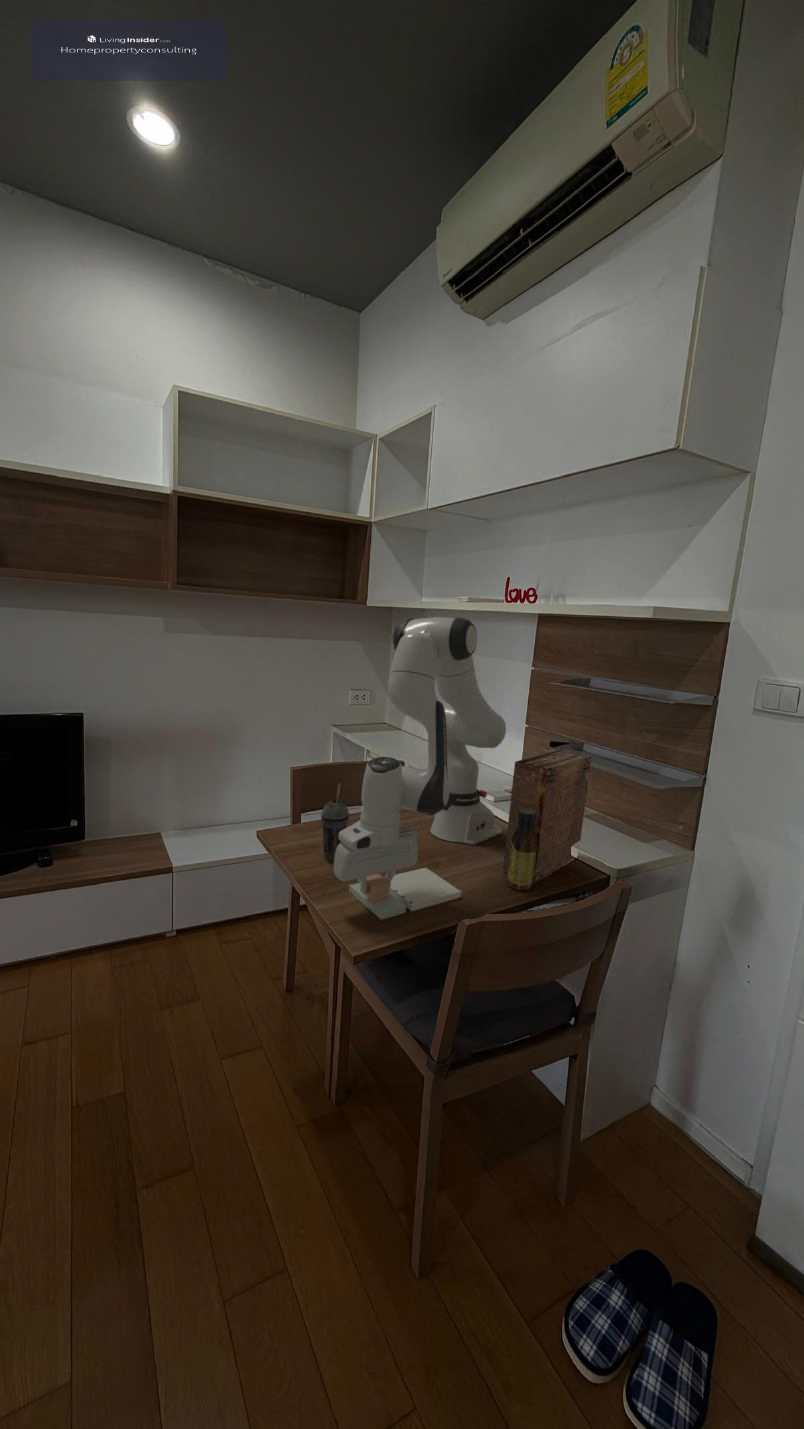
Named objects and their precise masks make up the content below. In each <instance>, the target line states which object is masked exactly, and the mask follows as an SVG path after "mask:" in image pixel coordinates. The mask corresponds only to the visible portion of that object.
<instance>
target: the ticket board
mask: <svg viewBox="0 0 804 1429" xmlns="http://www.w3.org/2000/svg"><path fill="white" fill-rule="evenodd" d="M389 893H390V894H391V895H393V896H394V897H395V898H396V899H398V900H399V901H400V902H401V903H402V904H404V905H405V906H406V909H409V910H410V911H411V912H414V911H418V910H421V909H424V908H428V907H431V906H435V905H439V904H442V903H445V902H449V901H452V900H457V899H460V898H461V897H462V891H461V890H460V889H458V888H456V887H455V886H454V885H453V884H451V883H449V882H448V881H447V880H445V879H444V878H441V877H440V876H439V875H438V874H436V873H435V872H434V871H432V870H430V869H429V868H427V867H422V868H417V869H414V870H410V871H405V872H401V873H397V874H395V875H394V877H393V879H392V880H391V885H390V887H389Z"/></svg>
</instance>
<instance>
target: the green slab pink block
mask: <svg viewBox="0 0 804 1429" xmlns="http://www.w3.org/2000/svg"><path fill="white" fill-rule="evenodd" d="M384 877H385V876H384ZM384 877H383V876H382V875H381V873H378V874H374V875H370V876H367V880H364V881H365V883H367V884H368V885H370V892H369V893H366V894H363V893H362V892H361V891H360V886H361V884H360V883H359V882H358V883H357V882H356V883H354V884H353V883H352V884H350V885H349V886H348V887H349V888H348V889H349V890H348V891H349V892H350V893H351V894H352V896H354V897H355V898H356V899H357V900H359V902H361V903H362V904H363V905H364V906H365V907H366V908H367V909H368V910H370V912H371V913H373V914H374V915H375V916H376V917H377V918H378V919H379V918H380V919H379V920H380V921H382V920H385V919H388V918H393V917H395V916H399V915H403V914H406V913H407V912H406V911H407V907H406V906H405V905H404V904H402V903H401V902H400V901H399V900H398V899H396V898H395V897H394V896H393V895H391V894H390V893H389V885H390V882H389V881H387V880H386V879H385V878H384Z"/></svg>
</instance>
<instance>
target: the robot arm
mask: <svg viewBox="0 0 804 1429" xmlns="http://www.w3.org/2000/svg"><path fill="white" fill-rule="evenodd" d="M477 632H478V631H477V629H476V626H475V624H474V623H472V621H471V620H470V619H467V618H463V617H456V618H453V617H447V616H445V617H444V616H434V617H433V616H432V617H421V618H407V619H404V620H403V619H402V620H401V621H400V622H398V624H397V625H396V626H395V628H394V631H393V633H392V634H393V635H392V644H393V648H394V650H395V651H394V655H393V658H392V661H391V666H390V670H389V677H388V682H387V696H388V698H389V702H390V703H391V704H392V705H393V706H394V707H395V708H396V709H397V711H399V712H401V713H402V714H404V715H405V716H407V717H409V718H411V719H412V720H414V721H417V722H418V723H420V724H421V725H422V726H423V727H424V728H425V730H426V732H427V739H428V740H427V741H428V743H427V746H428V747H427V749H428V750H427V751H428V757H427V758H428V763H427V764H428V766H427V768H425V769H424V768H423V769H422V768H416V767H410V766H404V765H402V763H401V762H400V761H399V760H398V759H397V758H393V757H389V756H378V757H375V758H372V759H370V760H369V761H368V762H367V763H366V766H365V771H364V774H363V779H362V782H363V783H362V787H361V799H360V800H361V804H362V809H361V813H360V816H359V818H360V819H359V820H358V821H356V822H355V823H353V824H351V825H350V826H348V827H347V826H346V828H345V829H343V830H342V831H340V832H339V835H338V838H339V840H340V841H341V843H340V844H339V845H338V846H337V848H336V852H335V858H334V861H333V873H334V875H335V877H336V878H338V880H341V882H347V881H352V880H356V879H357V881H358V883H360V884H361V886H360V891H361V892H362V893H363V894H366V893H369V892H370V885H368V884H367V883H365V881H364V880H367V876H370V875H374V874H382V873H385V875H384V878H385V879H386V880H387V881H389V882H390V885H391V880H392V879H393V877H394V875H396V873H397V870H399V869H404V868H409V867H413V866H414V865H415V864H416V863H417V862H418V851H419V850H418V841H417V840H418V830H417V828H416V827H414V826H413V825H408V826H401V816H400V809H402V810H409V811H415V812H417V813H420V814H423V815H424V814H425V815H427V816H434V818H433V821H432V825H431V827H430V829H429V831H430V833H431V835H433V836H434V837H436V838H438V839H441V840H444V841H448V842H453V843H464V844H468V845H477V844H479V843H482V842H484V841H487V840H489V838H490V839H492V838H491V837H493V838H494V836H495V835H498V834H500V833H502V834H503V831H502V829H501V828H500V826H498V825H496V819H495V818H496V817H495V814H494V812H493V811H492V809H490V808H489V807H488V806H486V804H485V803H483V802H482V801H481V798H483V799H485V798H486V797H487V796H488V792H487V791H485V790H482V789H480V790H479V789H478V780H479V764H478V762H477V761H476V759H475V758H474V757H473V756H472V755H471V754H470V753H469V751H468V749H467V746H469V747H475V748H479V749H495V748H497V747H499V745H500V744H501V743H502V742H503V741H504V739H505V737H506V734H507V725H506V722H505V720H504V718H503V717H502V715H500V714H499V713H497V711H495V710H494V709H493V708H492V707H491V706H490V705H489V703H488V702H487V700H486V699H485V698H484V696H483V694H482V692H481V690H480V687H479V685H478V684H479V683H478V680H477V675H476V669H475V665H474V658H473V654H474V653H475V651H476V648H477V642H478V633H477ZM435 685H436V686H437V691H438V695H439V696H440V698H441V699H442V700H443V701H444V702H445V703H442V702H441V701H440V700H439V699H438V698H437V694H436V688H435V687H436V686H435ZM480 797H481V798H480ZM500 835H501V834H500ZM498 836H499V835H498ZM495 837H496V836H495ZM390 885H389V887H390Z"/></svg>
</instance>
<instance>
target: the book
mask: <svg viewBox="0 0 804 1429" xmlns="http://www.w3.org/2000/svg"><path fill="white" fill-rule="evenodd" d="M591 762H592V755H587V756H582V755H577V754H572V753H569V752H564V751H563V749H562V748H559V749H555V750H552V751H548V752H545V753H541V754H537V755H534V756H531V757H527V758H524V759H520V760H517V761H515V762H514V768H513V775H512V776H513V777H512V786H511V796H510V805H509V813H508V821H507V822H508V823H507V831H506V840H505V841H506V842H505V848H504V858H503V859H504V860H503V866H502V867H503V869H502V873H504V874H507V875H508V868H509V858H510V848H511V839H512V837H513V835H514V833H515V831H516V829H517V827H518V822H519V815H518V814H519V810H520V809H522V808H528V809H532V810H534V811H535V812H536V816H535V819H534V829H533V830H534V832H535V835H536V837H537V845H536V848H537V850H536V859H535V869H534V877H533V882H532V886H533V885H534V886H535V885H536V884H538V883H540V882H541V881H543V880H545V879H546V878H548V877H549V875H550V876H551V875H553V874H555V873H556V872H558V871H559V870H558V869H559V868H560V867H562V866H563V865H564V864H565V863H567V862H568V861H569V860H570V859H572V855H571V847H572V845H574V844H575V843H577V842H578V841H580V842H581V839H582V838H581V837H582V830H583V824H584V822H583V821H584V817H585V816H584V814H585V806H586V799H587V793H588V785H589V778H590V771H591ZM557 870H558V871H557ZM555 871H556V872H555ZM554 872H555V873H554ZM552 873H553V874H552Z"/></svg>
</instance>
